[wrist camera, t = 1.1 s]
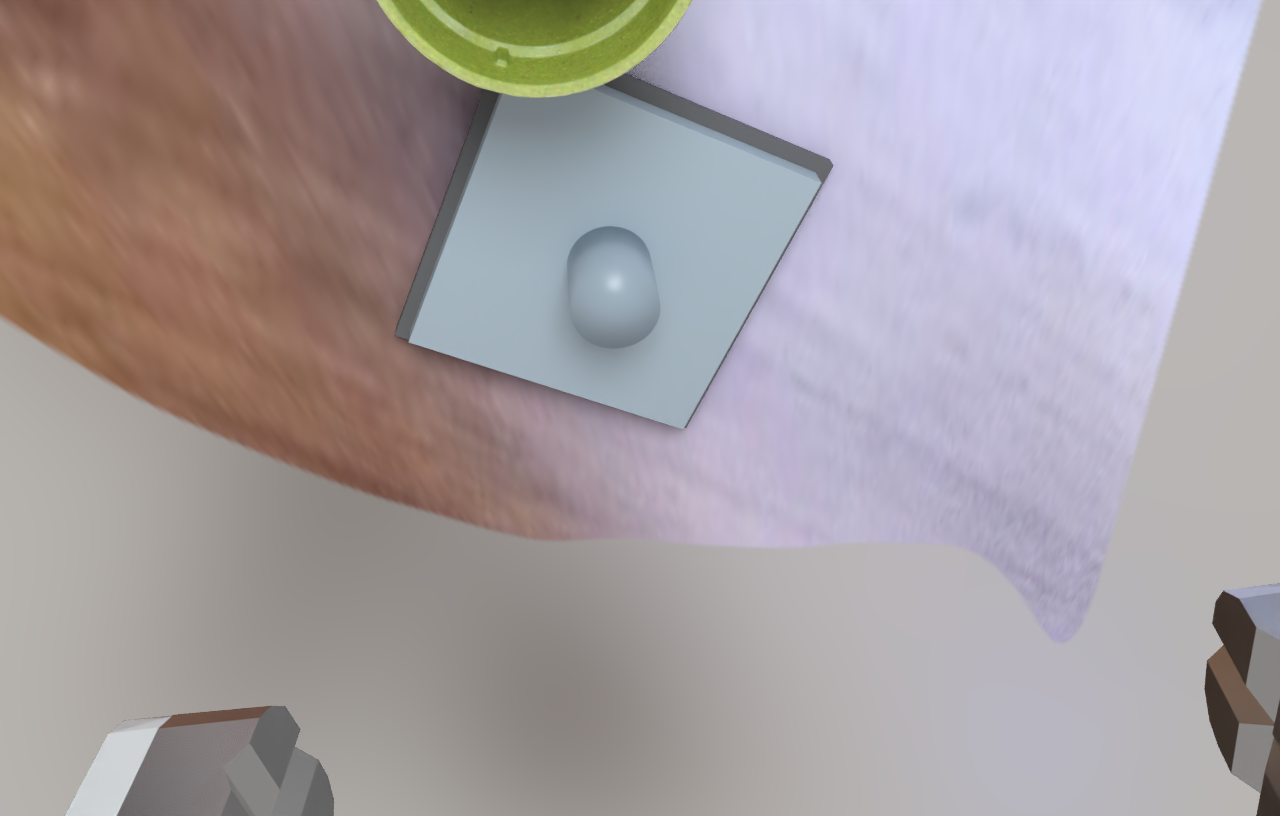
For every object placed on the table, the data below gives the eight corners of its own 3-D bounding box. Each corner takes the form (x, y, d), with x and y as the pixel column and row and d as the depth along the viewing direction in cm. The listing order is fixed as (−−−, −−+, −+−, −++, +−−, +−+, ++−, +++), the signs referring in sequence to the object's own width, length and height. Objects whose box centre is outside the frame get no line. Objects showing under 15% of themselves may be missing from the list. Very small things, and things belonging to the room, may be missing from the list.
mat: (396, 327, 44) (394, 335, 43) (507, 24, 37) (507, 29, 37) (684, 420, 48) (685, 428, 47) (829, 159, 41) (833, 165, 41)
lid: (410, 329, 43) (399, 391, 39) (516, 48, 37) (515, 91, 34) (680, 416, 47) (693, 480, 43) (815, 172, 41) (844, 223, 37)
